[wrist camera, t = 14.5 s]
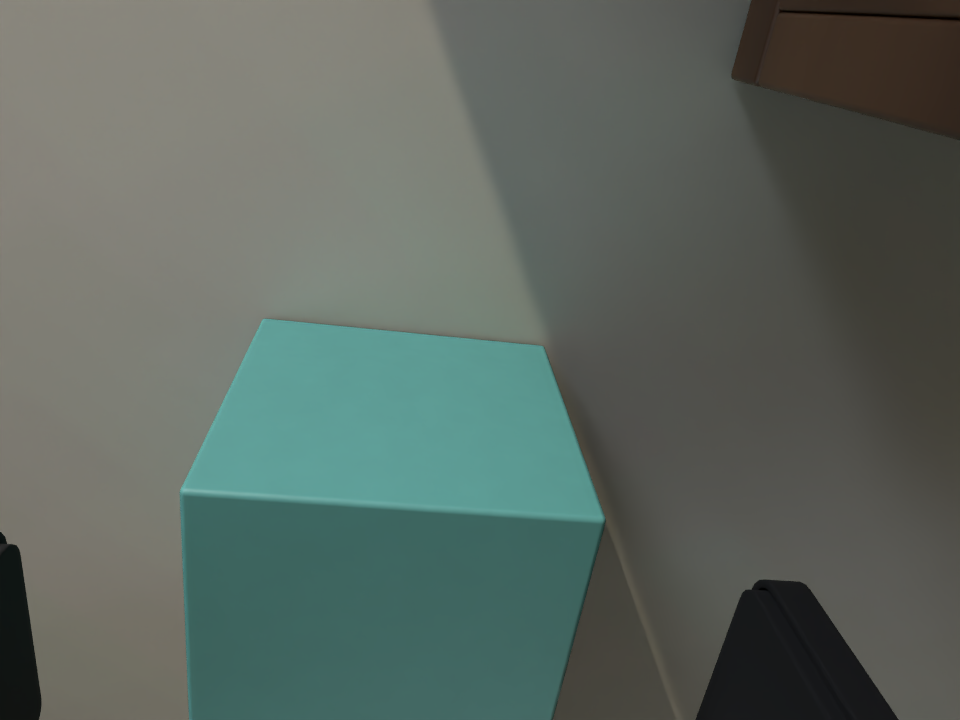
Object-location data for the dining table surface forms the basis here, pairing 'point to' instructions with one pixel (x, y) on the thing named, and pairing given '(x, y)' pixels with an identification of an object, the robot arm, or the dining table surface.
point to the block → (385, 531)
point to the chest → (859, 57)
